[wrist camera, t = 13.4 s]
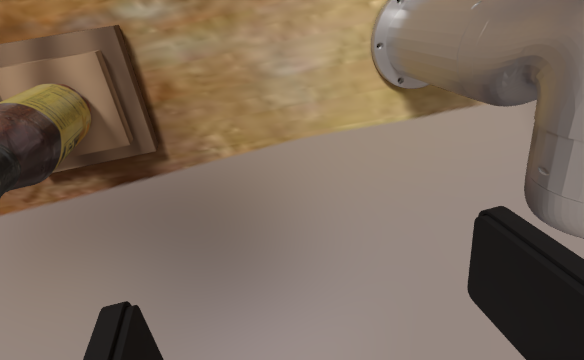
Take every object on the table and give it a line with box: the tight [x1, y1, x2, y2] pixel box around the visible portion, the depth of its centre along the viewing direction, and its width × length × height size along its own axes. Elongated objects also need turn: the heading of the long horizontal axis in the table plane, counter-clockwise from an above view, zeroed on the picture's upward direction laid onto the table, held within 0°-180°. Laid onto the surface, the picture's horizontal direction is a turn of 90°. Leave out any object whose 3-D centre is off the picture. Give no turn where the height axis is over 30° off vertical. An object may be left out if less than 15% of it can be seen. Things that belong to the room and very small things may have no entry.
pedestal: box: [0, 25, 158, 173], centre depth 39 cm, size 14×14×4 cm
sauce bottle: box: [0, 83, 92, 198], centre depth 29 cm, size 6×6×20 cm
